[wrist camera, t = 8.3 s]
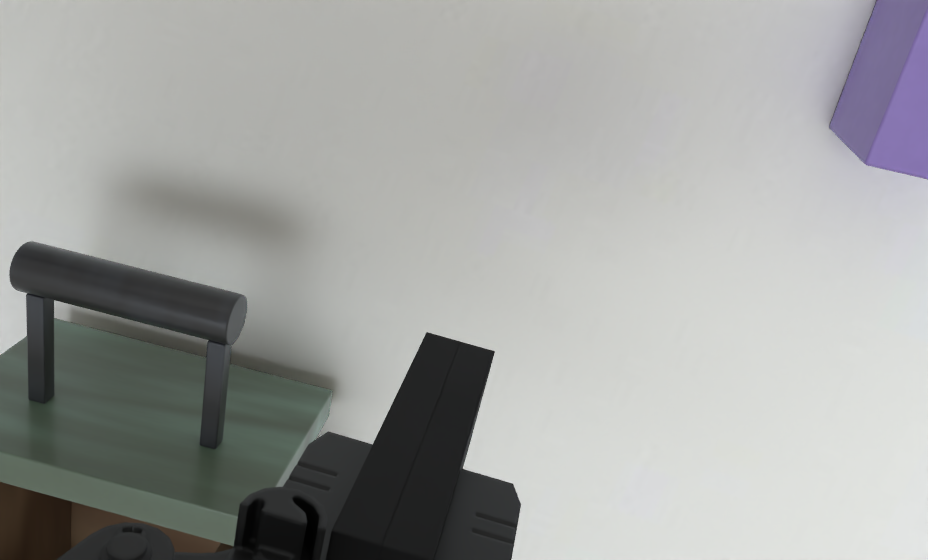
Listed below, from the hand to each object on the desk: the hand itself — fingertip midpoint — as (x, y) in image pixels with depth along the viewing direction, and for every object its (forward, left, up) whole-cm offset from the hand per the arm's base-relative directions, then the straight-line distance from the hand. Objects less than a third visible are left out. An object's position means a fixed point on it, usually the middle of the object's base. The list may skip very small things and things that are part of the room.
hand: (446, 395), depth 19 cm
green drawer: (+12, -11, -11) cm, 20 cm away
